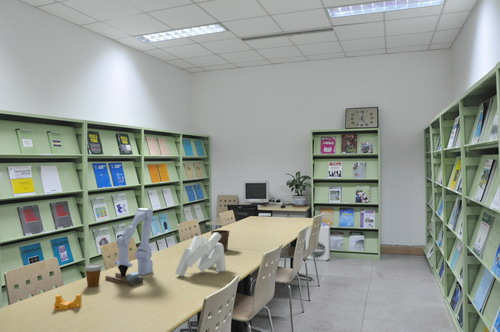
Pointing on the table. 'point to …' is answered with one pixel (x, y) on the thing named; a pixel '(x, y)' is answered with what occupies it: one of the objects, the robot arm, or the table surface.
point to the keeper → (132, 276)
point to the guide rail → (129, 283)
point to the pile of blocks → (203, 254)
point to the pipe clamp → (67, 303)
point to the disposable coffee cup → (93, 274)
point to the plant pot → (223, 237)
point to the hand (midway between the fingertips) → (123, 276)
